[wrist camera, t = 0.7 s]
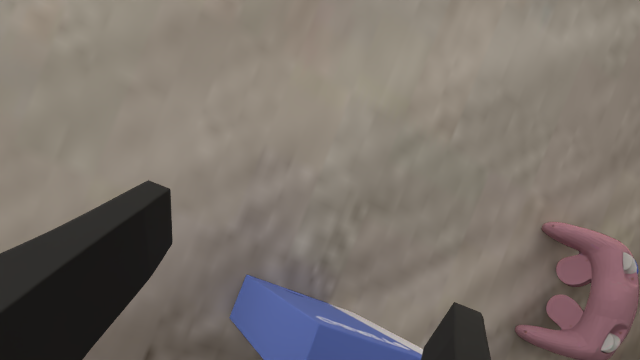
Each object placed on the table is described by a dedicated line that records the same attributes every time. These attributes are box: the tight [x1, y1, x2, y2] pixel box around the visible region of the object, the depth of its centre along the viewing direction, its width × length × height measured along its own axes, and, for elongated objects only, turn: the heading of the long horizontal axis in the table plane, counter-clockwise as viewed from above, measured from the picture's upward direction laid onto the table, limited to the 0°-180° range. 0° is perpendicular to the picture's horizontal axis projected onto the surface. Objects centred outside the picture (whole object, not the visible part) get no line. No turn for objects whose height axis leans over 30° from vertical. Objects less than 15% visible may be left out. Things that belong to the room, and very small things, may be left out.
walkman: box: [230, 275, 423, 360], centre depth 24 cm, size 8×3×12 cm, turn 67°
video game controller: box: [515, 222, 639, 360], centre depth 35 cm, size 10×5×7 cm, turn 158°
